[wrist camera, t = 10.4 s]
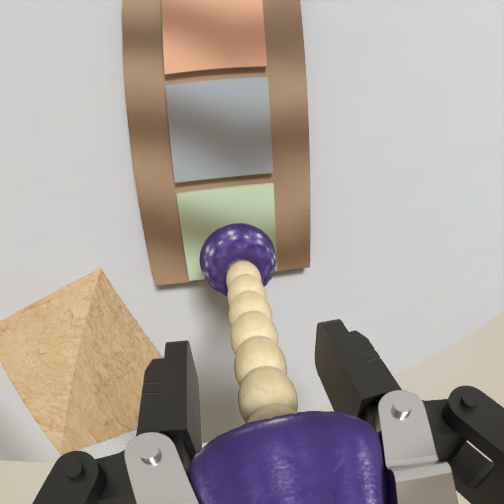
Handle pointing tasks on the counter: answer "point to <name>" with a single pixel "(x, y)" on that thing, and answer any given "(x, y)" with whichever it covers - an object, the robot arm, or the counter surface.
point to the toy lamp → (275, 404)
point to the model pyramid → (78, 362)
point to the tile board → (217, 126)
